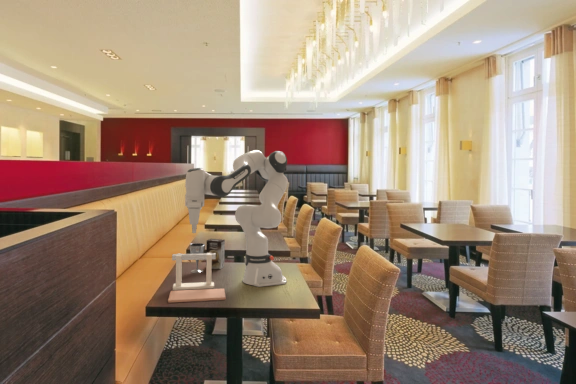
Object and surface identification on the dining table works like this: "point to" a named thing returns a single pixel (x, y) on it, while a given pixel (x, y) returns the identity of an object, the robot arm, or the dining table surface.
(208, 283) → the cradle stand
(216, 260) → the coffee box
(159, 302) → the dining table surface
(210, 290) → the terracotta board
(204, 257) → the aluminium rail
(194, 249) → the wine glass
